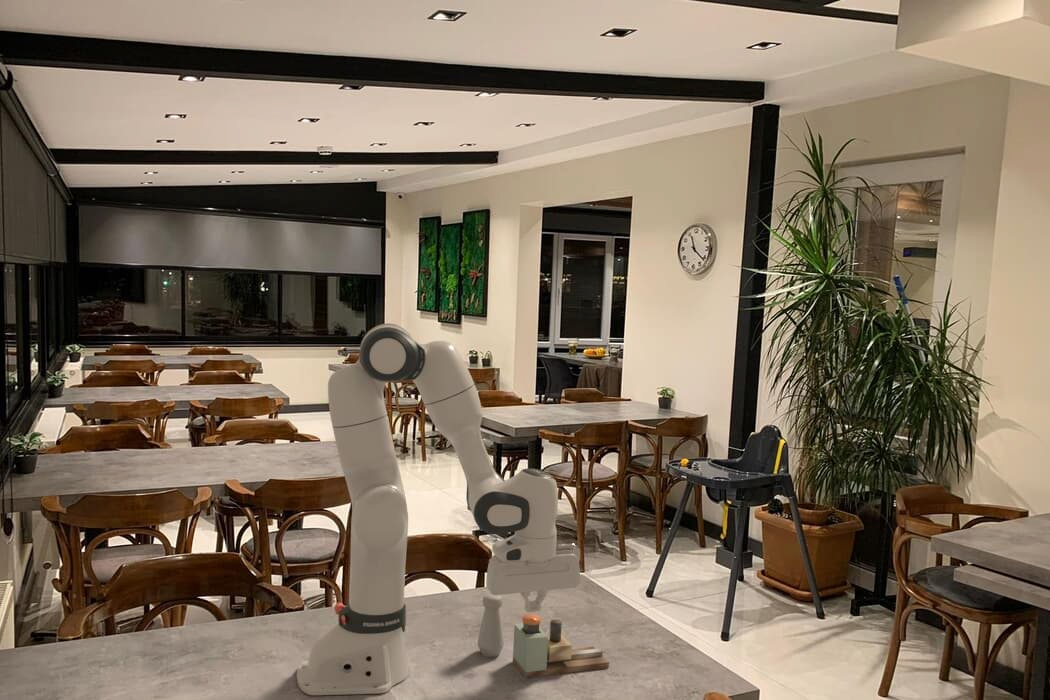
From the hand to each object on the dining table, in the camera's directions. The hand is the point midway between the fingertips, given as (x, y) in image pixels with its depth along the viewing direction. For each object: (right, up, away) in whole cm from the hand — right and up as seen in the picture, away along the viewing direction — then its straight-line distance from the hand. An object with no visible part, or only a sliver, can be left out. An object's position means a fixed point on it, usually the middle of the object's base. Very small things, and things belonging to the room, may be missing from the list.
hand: (532, 610), depth 173 cm
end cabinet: (-1, -11, +1) cm, 11 cm away
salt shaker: (-9, -12, +7) cm, 17 cm away
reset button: (0, -6, 0) cm, 6 cm away
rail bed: (+6, -13, +3) cm, 14 cm away
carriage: (+5, -10, +3) cm, 11 cm away
